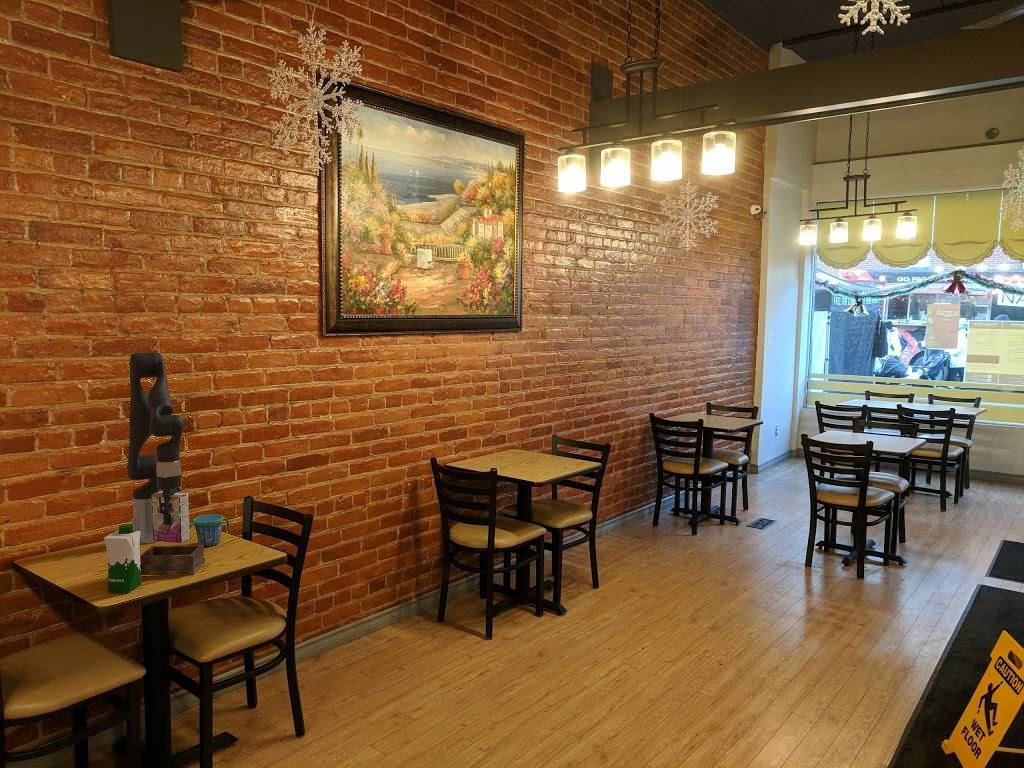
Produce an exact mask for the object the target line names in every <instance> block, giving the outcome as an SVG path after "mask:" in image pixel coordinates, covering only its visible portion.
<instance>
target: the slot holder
mask: <svg viewBox="0 0 1024 768" xmlns="http://www.w3.org/2000/svg"><path fill="white" fill-rule="evenodd" d="M204 548H205V546H204V545H199V544H181V545H178V544H176V545H175V544H174V545H151V546H150V547H149V548H148V549H146V551H144V552H143V553H141V554H140V567H141V575H165V576H186V575H187V576H193V575H196V573H197V572H198V571H199V570H200V569H201V568H202V567H203V566H204V565H205V563H206V558H205V550H204Z"/></svg>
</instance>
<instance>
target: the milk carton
mask: <svg viewBox="0 0 1024 768" xmlns="http://www.w3.org/2000/svg"><path fill="white" fill-rule="evenodd" d="M140 532H141V531H134V530H133V525H132V523H131V524H130V523H125V524H121V525H118V530H116V531H114V532H112V533H110V534H108V535H106V536H104V537H103V540H104V545H105V548H106V560H107V593H108V592H114V593H113V594H131V591H132V592H133V591H134V590H136V589H138V588H139V587H140V586H142V576H141V567H140V556H141V551H140V550H141V547H140V546H141V545H140ZM138 586H139V587H138ZM137 587H138V588H137Z"/></svg>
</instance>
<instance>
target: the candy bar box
mask: <svg viewBox="0 0 1024 768" xmlns="http://www.w3.org/2000/svg"><path fill="white" fill-rule="evenodd" d="M162 494H163V490H160V492H157V493H154V494H152V518H153V541H157V542H162V543H163V542H166V543H175V544H176V543H177V544H183V543H185V542H187V541H189V539H190V538H191V532H190V531H191V528H190V527H189V525H190V506H189V504H190V499H189V498H190V497H189V495H190V494H189V493H188V492H187V493H186V492H185V493H184V492H180V493H173V494H175V495H171V496H170V501H169V502H168V505H169V504H170V503H172V507H171V524H170V525H164V519H163V514H160V507H159V497H162ZM162 509H163V507H162ZM165 510H166V508H165Z"/></svg>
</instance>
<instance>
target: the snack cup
mask: <svg viewBox="0 0 1024 768" xmlns="http://www.w3.org/2000/svg"><path fill="white" fill-rule="evenodd" d="M224 520H226V531H227V532H228V533H229V532H230V530H231V523H230V521H229V519H228V518H227V517H225V516H223V515H222V514H213V513H211V514H209V513H208V514H203V515H198V516H196V517H195V518H193V520H192V522H189V527H190V529H192V527H193V526H194V529H195V531H196V532H195V533H196V538H197V543H198V545H204V547H205V546H206V547H211V546H210V545H213V546H216V545H219V543H220V542H221V536H222V527H223V523H224ZM191 539H192V538H191V537H190V539H189V540H191ZM189 540H188V541H189ZM215 544H216V545H215Z"/></svg>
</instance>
